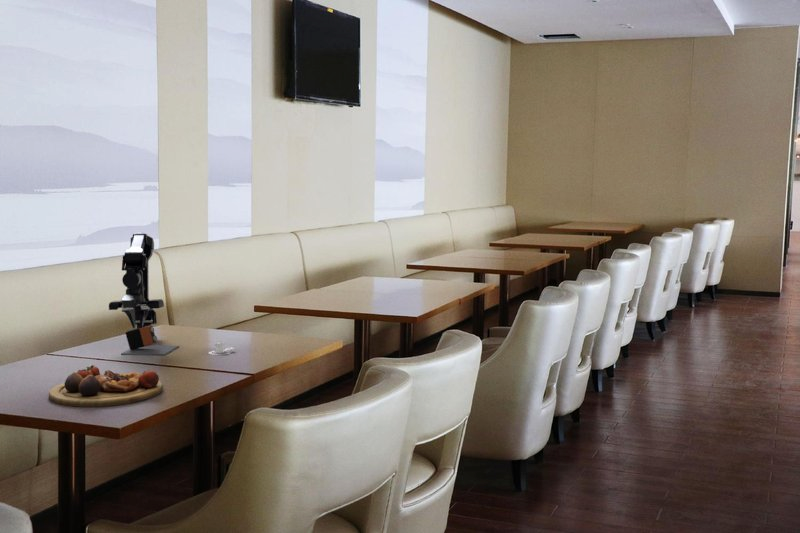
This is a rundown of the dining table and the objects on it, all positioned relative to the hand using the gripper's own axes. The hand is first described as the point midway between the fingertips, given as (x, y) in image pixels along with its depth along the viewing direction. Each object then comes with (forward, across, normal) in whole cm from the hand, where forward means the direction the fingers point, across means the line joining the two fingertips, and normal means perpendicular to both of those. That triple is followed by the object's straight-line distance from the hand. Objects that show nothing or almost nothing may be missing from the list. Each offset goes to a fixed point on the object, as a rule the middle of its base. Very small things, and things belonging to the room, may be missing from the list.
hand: (137, 328), depth 327 cm
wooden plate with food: (+11, +13, -62) cm, 65 cm away
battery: (+4, -4, 0) cm, 6 cm away
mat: (+9, +4, +1) cm, 10 cm away
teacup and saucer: (+11, +33, -3) cm, 35 cm away
